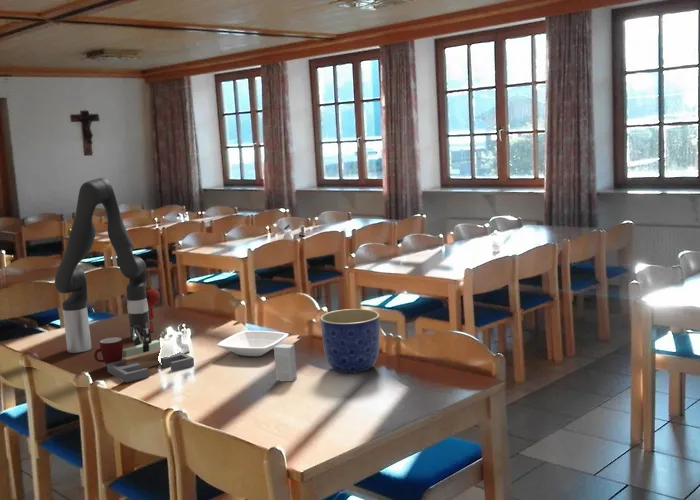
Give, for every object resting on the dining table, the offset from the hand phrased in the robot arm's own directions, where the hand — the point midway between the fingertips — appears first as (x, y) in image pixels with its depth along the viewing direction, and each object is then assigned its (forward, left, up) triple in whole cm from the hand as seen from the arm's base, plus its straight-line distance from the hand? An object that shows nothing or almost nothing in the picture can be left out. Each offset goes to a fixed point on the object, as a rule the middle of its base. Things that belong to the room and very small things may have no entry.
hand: (142, 352), depth 314 cm
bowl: (+28, +33, -2) cm, 43 cm away
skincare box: (+64, +24, -2) cm, 68 cm away
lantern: (-34, +19, -2) cm, 39 cm away
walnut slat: (+12, -4, -2) cm, 13 cm away
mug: (+2, -14, -2) cm, 14 cm away
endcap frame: (+16, -4, -2) cm, 17 cm away
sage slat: (0, 0, -2) cm, 2 cm away
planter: (+71, +47, -2) cm, 85 cm away
